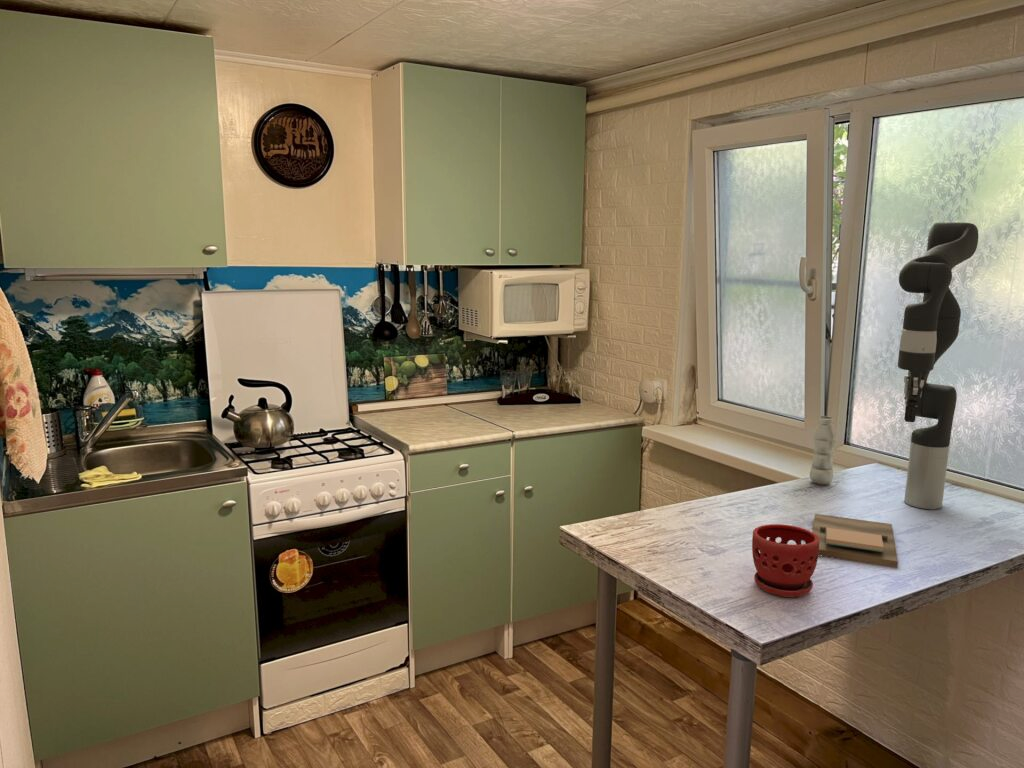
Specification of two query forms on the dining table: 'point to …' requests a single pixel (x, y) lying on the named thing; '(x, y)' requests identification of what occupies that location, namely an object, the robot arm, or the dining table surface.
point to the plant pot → (784, 559)
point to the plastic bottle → (823, 452)
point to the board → (855, 554)
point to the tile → (854, 539)
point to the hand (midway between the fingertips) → (909, 421)
